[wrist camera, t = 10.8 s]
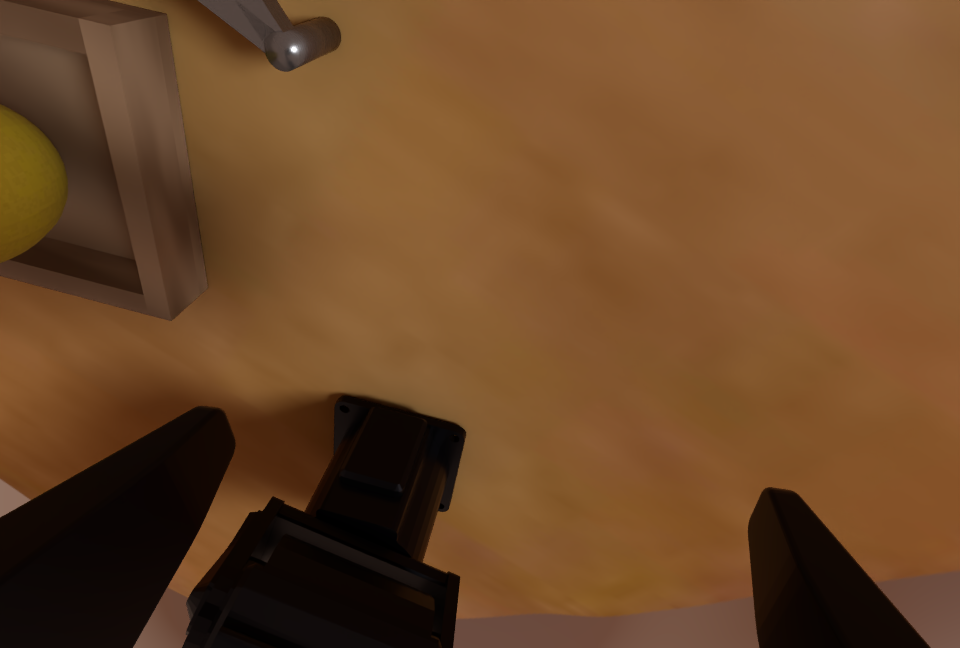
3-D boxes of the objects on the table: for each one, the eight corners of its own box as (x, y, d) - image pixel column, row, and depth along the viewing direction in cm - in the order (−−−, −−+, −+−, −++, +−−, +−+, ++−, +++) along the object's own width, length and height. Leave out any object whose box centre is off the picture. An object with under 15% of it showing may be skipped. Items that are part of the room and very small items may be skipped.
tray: (207, 287, 25) (171, 321, 23) (-19, 229, 26) (-75, 256, 24) (166, 14, 18) (109, 25, 16) (-139, -58, 19) (-230, -55, 17)
